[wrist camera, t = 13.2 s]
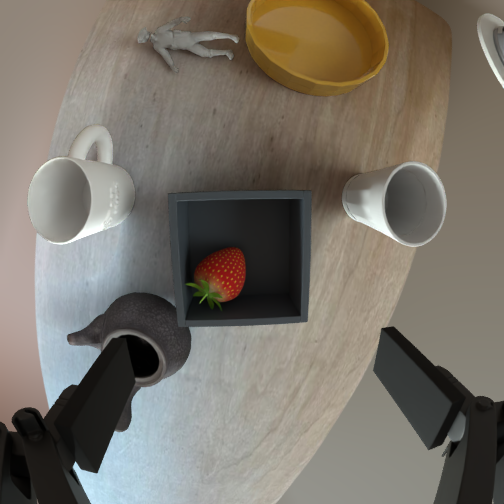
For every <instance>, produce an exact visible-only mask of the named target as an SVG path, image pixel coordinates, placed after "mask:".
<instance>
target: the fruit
mask: <svg viewBox="0 0 504 504" xmlns="http://www.w3.org/2000/svg"><path fill="white" fill-rule="evenodd" d="M245 276H246V266H245V258H244V255H243V253H242V251H241V250H240V249H239V248H236V247H228V248H225V249H222V250H219V251H216V252H214V253H212V254H210V255H209V256H207V257H206V258H204V259H203V260H202V261H201V262H200V263H199V264H198V266H197V267H196V269H195V273H194V282H195V284H194V283H187V284H186V285H189V286H192V287H195V288H197V289H198V290H199V291H197V292H196V293H195V294H194V295H193V296H203V298H202V299H201V301H200V302H199V303H201V302H202V301H203V299H204V298H205V297H206V296H207V301H208V303H209V306H210V308H211V309H212V310H213V307H214V303H213V301H214V302H215V303H216V304H217V305H218V306H219V308H220V309H221V306H220V303H219V302H226V301H230V300H232V299H234V298H235V297H237V295H238V294H239V293H240V291H241V290H242V288H243V286H244V282H245ZM212 300H213V301H212ZM221 311H222V309H221Z"/></svg>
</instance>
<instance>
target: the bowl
mask: <svg viewBox="0 0 504 504" xmlns="http://www.w3.org/2000/svg"><path fill="white" fill-rule="evenodd" d="M245 41H246V44H247V47H248V50H249V52H250V54H251V56H252V58H253V59H254V61H255V62H256V63H257V65H258V66H259V67H260V68H261V69H262V70H263V71H264V72H265V73H266V74H267V75H268V76H270V77H271V78H272V79H274V80H275V81H277V82H278V83H280V84H282V85H283V86H286V87H288V88H290V89H292V90H295V91H297V92H300V93H304V94H308V95H315V96H336V95H341V94H345V93H348V92H351V91H352V90H354V89H356V88H357V87H359V86H361V85H362V84H364V83H365V82H367V81H368V80H370V79H371V78H372V77H374V76H375V75H377V73H378V72H379V71H380V69H381V68H382V66H383V65H384V64H385V62H386V59H387V54H388V48H389V43H388V38H387V33H386V29H385V27H384V25H383V23H382V21H381V20H380V18H379V16H378V14H377V13H376V11H375V10H374V9H373V8H372V7H371V6H370V5H369V4H368V3H367V2H366V1H365V0H251V1H250V3H249V5H248V7H247V11H246V20H245Z"/></svg>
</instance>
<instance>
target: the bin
mask: <svg viewBox="0 0 504 504" xmlns="http://www.w3.org/2000/svg"><path fill="white" fill-rule="evenodd" d="M168 206H169V227H170V244H171V258H172V271H173V282H174V293H175V302H176V311H177V320H178V327H216V326H249V325H271V324H288V323H300V322H307V321H308V305H309V285H310V258H311V190H234V191H203V192H181V193H169V194H168ZM228 247H236V248H239V249H240V250H241V251H242V253H243V255H244V258H245V266H246V276H245V282H244V286H243V288H242V290H241V291H240V293H239V294H238V295H237V297H235V298H234V299H232V300H230V301H226V302H219V303H220V306H221V309H222V311H221V309H220V308H219V306H218V305H217V304H216V303H215V302H214V301H213V300H212V301H213V303H214V307H213V310H212V309H211V308H210V306H209V303H208V301H207V296H206V297H205V298H204V299H203V301H202V302H201V303H199V302H200V301H201V299H202V298H203V296H193V295H194V294H195V293H196V292H197V291H199V290H198V289H197V288H195V287H192V286H189V285H186V284H187V283H194V284H195V282H194V273H195V269H196V267H197V266H198V264H199V263H200V262H201V261H202V260H203V259H204V258H206V257H207V256H209V255H210V254H212V253H214V252H216V251H219V250H222V249H225V248H228Z"/></svg>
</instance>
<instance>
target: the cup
mask: <svg viewBox="0 0 504 504" xmlns="http://www.w3.org/2000/svg"><path fill="white" fill-rule="evenodd" d="M342 203H343V207H344V209H345V211H346V213H347V214H348V215H349V216H350V217H351V218H352V219H354V220H355V221H358V222H361V223H364V224H366V225H368V226H370V227H372V228H374V229H376V230H378V231H380V232H382V233H384V234H386V235H387V236H389V237H391V238H393V239H395V240H396V241H398V242H400V243H402V244H404V245H407V246H421V245H423V244H426V243H427V242H429V241H430V240H432V239H433V238H434V236H436V234H437V233H438V232H439V230H440V228H441V226H442V224H443V222H444V218H445V214H446V194H445V190H444V187H443V184H442V182H441V180H440V178H439V177H438V175H437V174H436V172H435V171H434V170H433V169H432V168H430V167H429V166H428V165H426V164H424V163H421V162H417V161H409V162H405V163H401V164H398V165H394V166H391V167H388V168H384V169H380V170H376V171H372V172H368V173H364V174H357V175H355V176H353V177H352V178H350V179H349V180H348V181H347V183H346V184H345V186H344V189H343V192H342Z"/></svg>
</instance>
